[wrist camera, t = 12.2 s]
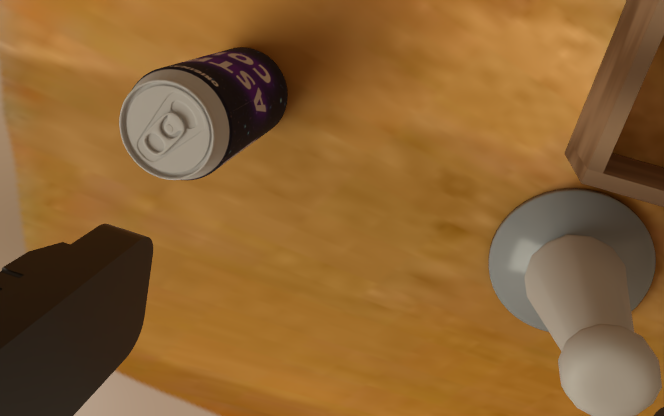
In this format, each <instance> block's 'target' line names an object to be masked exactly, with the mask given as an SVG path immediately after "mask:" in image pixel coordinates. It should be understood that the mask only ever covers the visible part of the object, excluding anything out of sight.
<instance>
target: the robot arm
mask: <svg viewBox="0 0 664 416" xmlns="http://www.w3.org/2000/svg"><path fill="white" fill-rule="evenodd" d="M152 256H153V243H152V240H151V239H150V238H149V237H146V236H143V235H140V234H137V233H134V232H131V231H128V230H125V229H121V228H118V227H115V226H112V225H109V224H102V225H100V226H98V227H97V228H95V229H93V230H92V231H90V232H89V233H87V234H86V235H84V236H83V237H81V238H80V239H78V240H77V241H75V242H74V243H72V244H71V245H70V244H67V243H64V242H61V243H58V244H54V245H51V246H47V247H44V248H40V249H36V250H33V251H29V252H27V253H26V254H24V255H22V256H21V257H19V258H18V259H16V260H14V261H13V262H11V263H9V264H8V265H6V266H4V267H3V268H2V271H1V272H0V416H73V415H74V414H75V413H76V412H77V411H78V410H79V409H80V408H81V407H82V406H83V404H84V403H85V402H86V401H87V400H88V399H89V398H90V397H91V396H92V395H93V394H94V392H95V391H96V390H97V389H98V388H99V387H100V386H101V385H102V384H103V383H104V381H105V380H106V379H107V378H108V377H109V376H110V375H111V374H112V373H113V372H114V371H115V369H116V368H117V367H118V366H119V365H120V364H121V363H122V362H123V361H124V360H125V359H126V357H127V356H128V355H129V353H130V352H131V351H132V349H133V347H134V345H135V343H136V342H137V339H138V337H139V335H140V332H141V329H142V325H143V321H144V315H145V308H146V301H147V293H148V286H149V278H150V271H151V264H152ZM654 416H664V407H663V408H661V409H660V410H658V411H657V412H656V413H655V415H654Z"/></svg>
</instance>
